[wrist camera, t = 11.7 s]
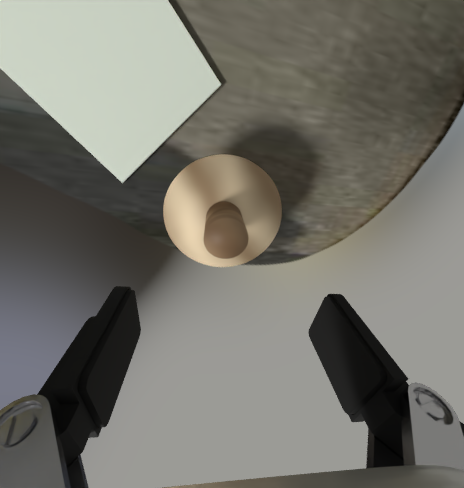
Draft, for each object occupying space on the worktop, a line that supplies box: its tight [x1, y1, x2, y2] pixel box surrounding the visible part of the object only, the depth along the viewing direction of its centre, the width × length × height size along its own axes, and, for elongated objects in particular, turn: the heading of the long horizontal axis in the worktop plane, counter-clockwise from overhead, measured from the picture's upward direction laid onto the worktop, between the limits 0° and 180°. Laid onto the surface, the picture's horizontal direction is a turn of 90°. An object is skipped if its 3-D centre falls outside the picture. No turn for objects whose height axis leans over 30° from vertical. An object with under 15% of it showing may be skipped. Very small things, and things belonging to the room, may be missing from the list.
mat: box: [0, 0, 221, 183], centre depth 19 cm, size 16×16×1 cm
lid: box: [164, 154, 282, 267], centre depth 20 cm, size 13×13×6 cm
